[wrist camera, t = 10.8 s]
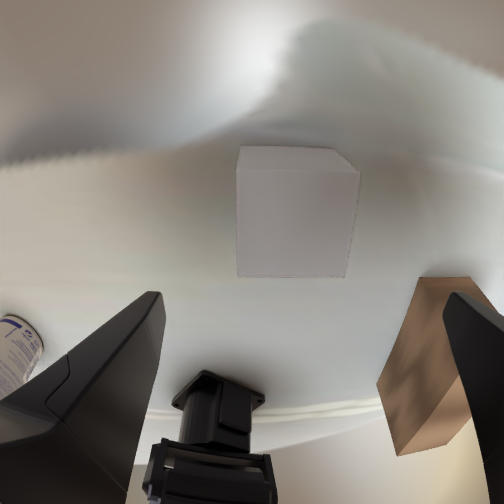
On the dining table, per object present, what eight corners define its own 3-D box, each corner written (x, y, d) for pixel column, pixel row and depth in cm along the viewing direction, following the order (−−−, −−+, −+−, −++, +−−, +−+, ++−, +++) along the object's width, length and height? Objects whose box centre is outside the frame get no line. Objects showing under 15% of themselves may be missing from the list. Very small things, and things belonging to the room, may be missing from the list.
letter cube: (241, 229, 19) (237, 276, 15) (241, 144, 17) (235, 168, 12) (327, 230, 19) (347, 277, 15) (336, 148, 17) (364, 173, 12)
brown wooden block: (420, 378, 27) (446, 444, 20) (376, 383, 27) (396, 456, 20) (469, 276, 21) (522, 346, 14) (418, 276, 21) (469, 357, 14)
